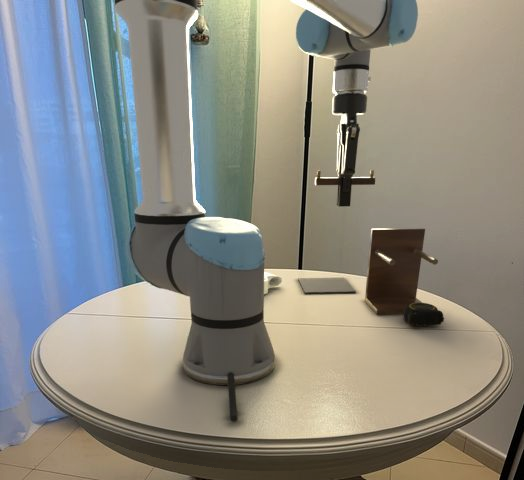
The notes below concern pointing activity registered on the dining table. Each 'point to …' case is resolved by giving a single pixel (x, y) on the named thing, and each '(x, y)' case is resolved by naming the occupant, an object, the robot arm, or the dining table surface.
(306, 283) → the mat
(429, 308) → the tape measure
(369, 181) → the hanger
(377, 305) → the rack
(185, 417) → the dining table surface
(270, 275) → the white brass knuckles
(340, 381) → the dining table surface
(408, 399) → the dining table surface
